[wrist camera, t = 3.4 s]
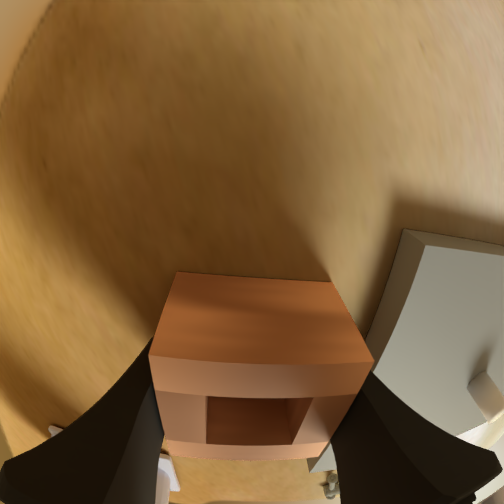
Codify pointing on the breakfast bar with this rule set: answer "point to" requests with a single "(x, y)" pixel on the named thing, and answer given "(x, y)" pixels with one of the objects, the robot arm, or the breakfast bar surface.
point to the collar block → (254, 367)
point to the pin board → (440, 333)
